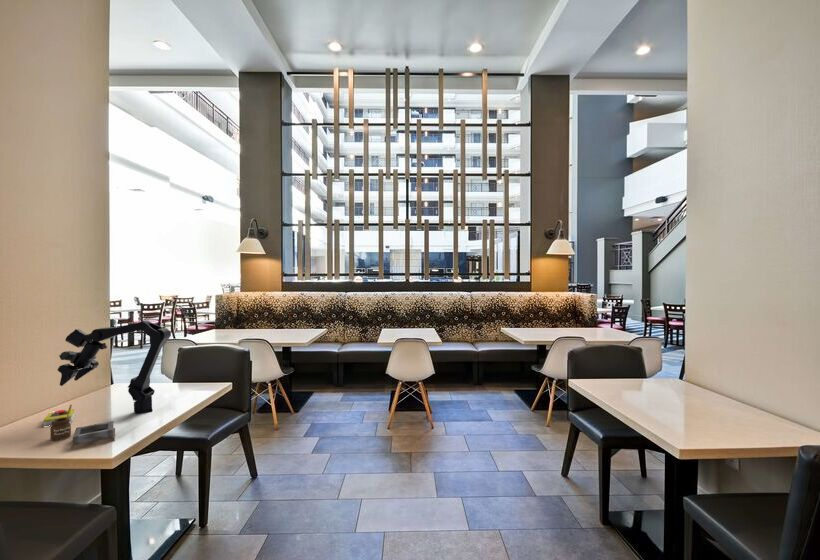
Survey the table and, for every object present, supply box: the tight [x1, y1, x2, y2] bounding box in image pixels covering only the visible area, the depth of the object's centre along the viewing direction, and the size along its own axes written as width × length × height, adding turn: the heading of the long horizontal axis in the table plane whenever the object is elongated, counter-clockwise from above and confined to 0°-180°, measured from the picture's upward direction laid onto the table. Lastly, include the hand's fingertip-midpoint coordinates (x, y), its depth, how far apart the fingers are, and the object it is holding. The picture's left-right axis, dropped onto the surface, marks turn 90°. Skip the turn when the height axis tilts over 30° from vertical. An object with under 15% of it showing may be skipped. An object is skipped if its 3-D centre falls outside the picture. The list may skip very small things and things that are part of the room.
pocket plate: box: [70, 420, 116, 450], centre depth 150 cm, size 12×12×4 cm
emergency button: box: [42, 408, 76, 427], centre depth 171 cm, size 9×4×15 cm
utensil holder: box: [49, 403, 72, 441], centre depth 152 cm, size 6×6×12 cm
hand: (68, 382), depth 178 cm, fingers open, 9 cm apart
